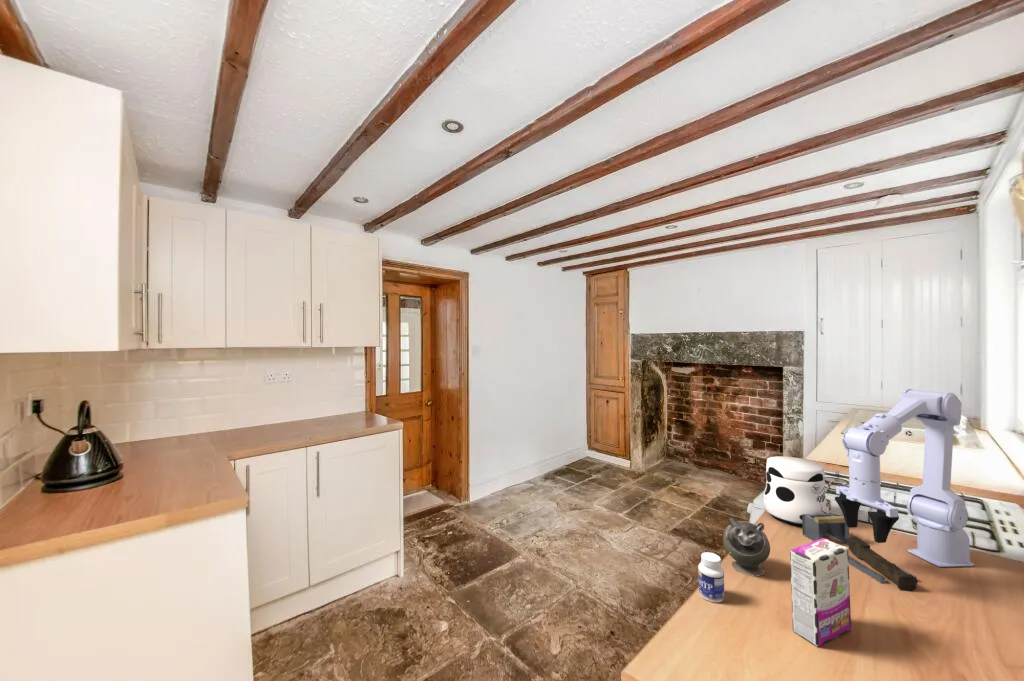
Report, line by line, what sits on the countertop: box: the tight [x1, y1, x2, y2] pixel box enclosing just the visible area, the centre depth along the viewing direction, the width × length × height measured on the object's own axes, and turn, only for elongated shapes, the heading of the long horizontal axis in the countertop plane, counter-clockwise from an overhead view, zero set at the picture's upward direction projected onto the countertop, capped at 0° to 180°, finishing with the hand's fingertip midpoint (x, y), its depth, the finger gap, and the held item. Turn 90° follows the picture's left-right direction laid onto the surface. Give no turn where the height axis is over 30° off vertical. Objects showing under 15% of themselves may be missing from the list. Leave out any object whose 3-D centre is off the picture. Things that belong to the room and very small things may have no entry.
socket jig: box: [801, 512, 918, 584], centre depth 107 cm, size 9×24×7 cm, turn 3°
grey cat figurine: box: [722, 516, 771, 577], centre depth 101 cm, size 10×12×10 cm
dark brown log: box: [847, 535, 918, 592], centre depth 101 cm, size 19×4×5 cm, turn 171°
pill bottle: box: [697, 551, 725, 603], centre depth 91 cm, size 5×5×9 cm
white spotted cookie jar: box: [762, 455, 830, 526], centre depth 129 cm, size 17×17×18 cm
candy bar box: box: [789, 537, 852, 648], centre depth 79 cm, size 11×5×16 cm, turn 114°
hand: (865, 534), depth 97 cm, fingers open, 7 cm apart
